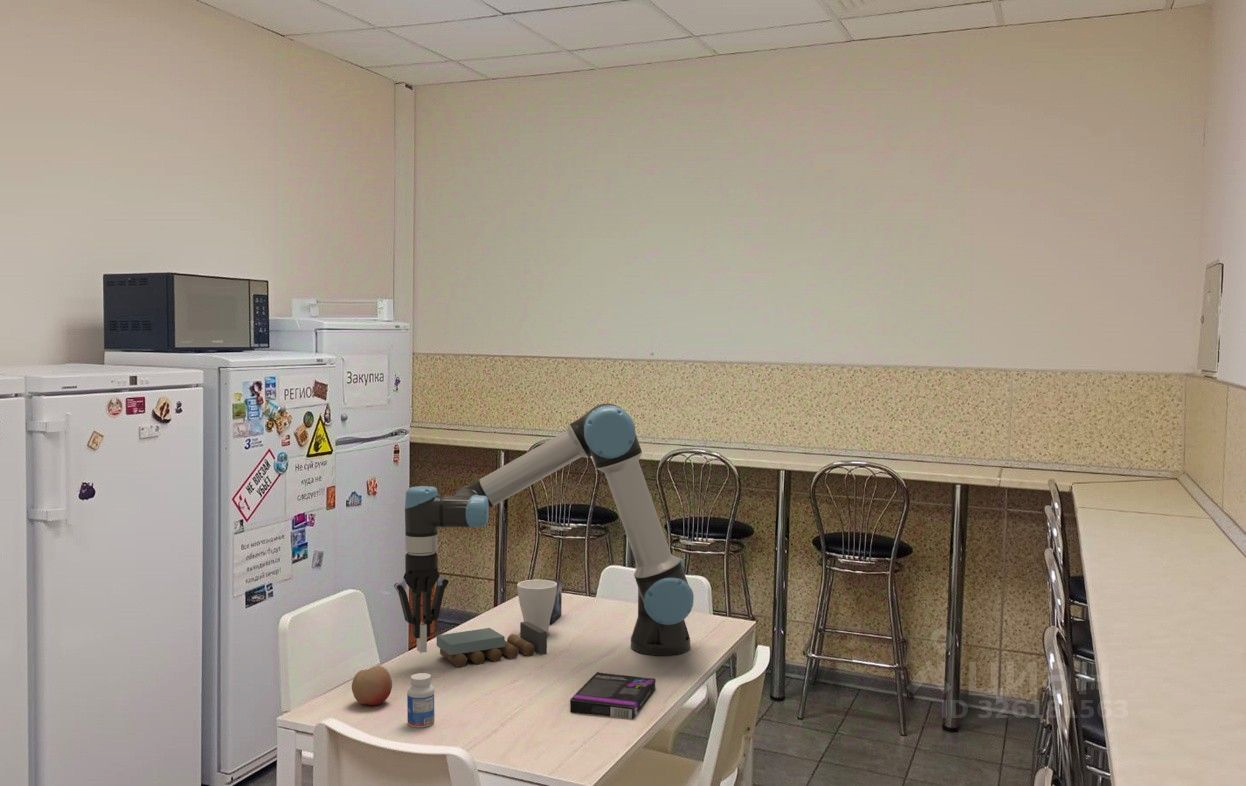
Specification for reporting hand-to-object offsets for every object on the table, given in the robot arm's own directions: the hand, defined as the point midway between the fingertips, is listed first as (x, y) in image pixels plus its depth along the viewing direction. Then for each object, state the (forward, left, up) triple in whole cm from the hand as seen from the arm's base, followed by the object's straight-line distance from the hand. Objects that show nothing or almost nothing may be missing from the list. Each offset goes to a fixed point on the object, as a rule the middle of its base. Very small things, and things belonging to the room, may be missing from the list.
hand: (421, 650), depth 245 cm
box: (-43, -28, -5) cm, 51 cm away
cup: (+11, -36, -4) cm, 38 cm away
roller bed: (0, -17, -4) cm, 17 cm away
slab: (0, -12, -1) cm, 13 cm away
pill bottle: (-35, +13, -4) cm, 38 cm away
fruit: (-19, +18, -4) cm, 26 cm away
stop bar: (0, -29, -4) cm, 30 cm away
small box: (+23, -45, -4) cm, 51 cm away
